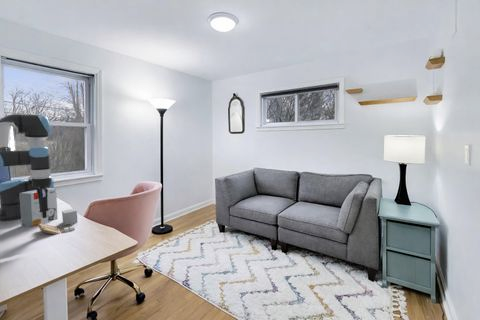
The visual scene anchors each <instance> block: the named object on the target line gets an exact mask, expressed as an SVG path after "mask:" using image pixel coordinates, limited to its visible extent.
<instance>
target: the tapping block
mask: <svg viewBox="0 0 480 320" xmlns="http://www.w3.org/2000/svg"><path fill="white" fill-rule="evenodd" d="M61 215H62V217H61V218H62V223H63V225H67V224H70V225H72V224H75V223H76V224H77V223H78V210H77V209H76V208H72V209H65V210H62V211H61Z"/></svg>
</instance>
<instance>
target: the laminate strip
mask: <svg viewBox="0 0 480 320" xmlns="http://www.w3.org/2000/svg"><path fill="white" fill-rule="evenodd" d="M72 226H73V225H72V224H67V225H65V224H63V225H59V226H56V227H57V229H58V230H59V232H60V234H62V233H63V234H64V233H67V232H71V231H73V230H71V231H70V227H72ZM67 227H68V228H69V231H67V232H65V231H64V228H67Z"/></svg>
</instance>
